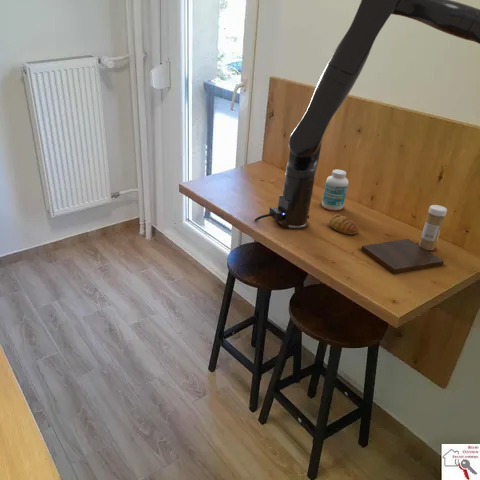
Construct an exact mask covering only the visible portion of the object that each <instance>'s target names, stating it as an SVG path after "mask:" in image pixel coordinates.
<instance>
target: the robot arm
mask: <svg viewBox="0 0 480 480" xmlns="http://www.w3.org/2000/svg"><path fill="white" fill-rule="evenodd" d="M391 15H395V16H400V17H405V18H408V19H412V20H414V21H417V22H420V23H422V24H425V25H426V26H428V27H431V28H433V29H436V30H437V31H440V32H442V33H445V34H448V35H451V36H453V37H456V38H459V39H461V40H466V41H469V42H474V43H476V44H479V45H480V8H478V7H474V6H472V5H469V4H465V3H462V2H458V1H454V0H361V1H360V3H359V6H358V8H357V10H356V12H355V14H354V17H353V20H352V22H351V24H350V27H349V28H348V29H347V32H346V33H345V34H344V36H343V38H341V40H340V42H339V43H338V44H337V46H336V48H335V49H334V51H333V53H332V55H331V57H330V58H329V60H328V62H327V63H326V65H325V67H324V70H323V72H322V74H321V75H320V78H319V80H318V82H317V85H316V87H315V89H314V92H313V95H312V97H311V100H310V103H309V105H308V107H307V109H306V111H305V113H304V115H303V117H302V118H301V119H300V121H299V123H298V124H297V126H296V127H295V128H294V129H293V131H292V132H291V134H290V135H289V139H288V149H289V154H288V159H287V163H286V168H285V172H284V181H283V186H282V194H279V197H278V204H277V206H271V207H270V206H269V212H268V213H266V214H263V215H260V216H257V217H256V218H254V221H255V222H257V221H260V220H261V219H265V218H268V217H270V218H271V219H273V220H274V221H275V222H277V223H278V224H279V225H280V226H282V227H283V228H284V229H291V230H300V229H304V228H306V227H307V226H308V220H310V215H309V213H310V209H311V208H310V207H311V202H312V197H313V191H314V184H315V179H316V174H317V171H318V170H317V169H318V166H319V159H320V155H321V150H322V144H323V137H324V135H325V132H326V130H327V128H328V126H329V124H330V122H331V120H332V119H333V117H334V116H335V114H336V113H337V111H338V110H339V108H340V107H341V105H342V104H343V103H344V101H345V100H346V98H347V97H348V95H349V94H350V92H351V91H352V89H353V87H354V85H355V84H356V82H357V80H358V78H359V76H360V75H361V72H362V70H363V69H364V67H365V64H366V62H367V60H368V57H369V56H370V53H371V50H372V48H373V45H374V43H375V41H376V39H377V37H378V35H379V34H380V32H381V30H382V29H383V28H384V26H385V24H386V23H387V21H388V20H389V18H390V16H391Z"/></svg>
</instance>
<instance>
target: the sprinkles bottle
mask: <svg viewBox="0 0 480 480" xmlns="http://www.w3.org/2000/svg"><path fill="white" fill-rule="evenodd" d="M427 211H428V212H427V216H426V219H425V223H424V226H423V230H422V232H421V236H420V240H419V242H418V245H419V246H421V247H422V248H424V249H426V250H427V251H434V250H435V248H436V244H437V242H438V239H439V237H440V232H441V229H442V225H443V222H444V220H445V217H446V215H447V212H448V209H447V208H446V206H443V205H440V204H439V205H438V204H432V205H430V206H429V208H428V210H427Z"/></svg>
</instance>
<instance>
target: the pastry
mask: <svg viewBox="0 0 480 480" xmlns="http://www.w3.org/2000/svg"><path fill="white" fill-rule="evenodd" d="M328 225H329V226H330V228H332V229H333V230H335V231H337V232H340V233H342V234H344V235H355V234H357V233H358V232H359V231H360V230H359V227H358V226H357V224H356V223H355V222H354V221H353V220H352V219H351V218H349V217H347V216H345V215H344V216H342V215H341V214H335V215H333V216H332V217H331V218H330V220H329V221H328Z"/></svg>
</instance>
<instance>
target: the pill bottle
mask: <svg viewBox="0 0 480 480" xmlns="http://www.w3.org/2000/svg"><path fill="white" fill-rule="evenodd" d="M349 184H350V183H349V179H348V178H347V172H346V171H345V170H342V169H333V170H332V172H331V175H329V176H328V177H327V178H326V181H325V185H324V190H323V196H322V199H321V206H322V207H323V208H324V209H326V210H329V211H340V210H342V209H343V208H344V206H345V200H346V197H347V191H348V187H349Z"/></svg>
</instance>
